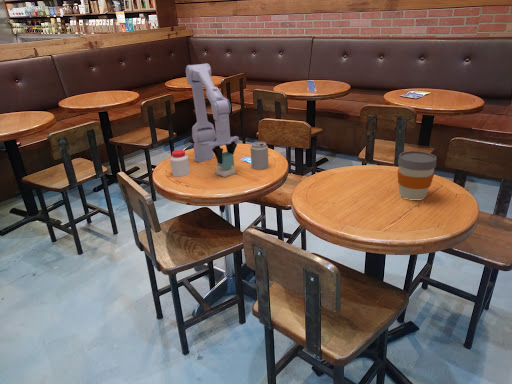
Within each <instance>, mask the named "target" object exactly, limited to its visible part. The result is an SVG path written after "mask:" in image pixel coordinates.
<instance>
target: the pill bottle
mask: <svg viewBox="0 0 512 384" xmlns="http://www.w3.org/2000/svg"><path fill="white" fill-rule="evenodd" d="M169 162H170V170H171V175H172V176H173V177H176V178H177V177H179V178H181V177H186V176H188V175H190V174H191V169H190V159H189V156H188V155H187V154H186V151H185V150H184V149H175V150H172V152H171V157H170V158H169Z"/></svg>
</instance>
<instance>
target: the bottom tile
mask: <svg viewBox="0 0 512 384" xmlns="http://www.w3.org/2000/svg"><path fill="white" fill-rule="evenodd" d="M237 174H238V172H236V173H234V174H232V175H229V176H226V177H223V176H221V175H218V174H216V172H215V173H214V175H217V176H219V177H221V178H224V179H226V178H228V177H231V176H234V175H237Z"/></svg>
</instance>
